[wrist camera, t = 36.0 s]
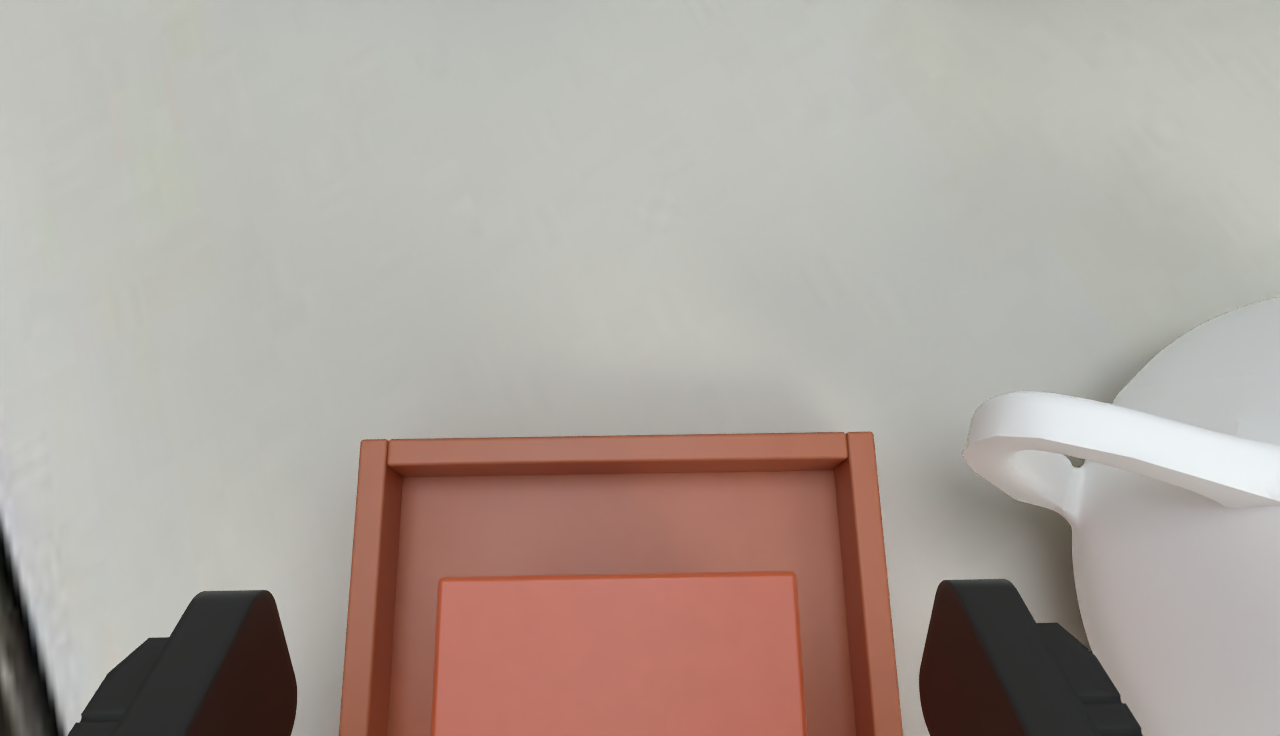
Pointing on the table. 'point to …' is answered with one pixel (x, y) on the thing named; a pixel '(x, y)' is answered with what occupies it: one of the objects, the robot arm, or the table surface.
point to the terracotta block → (619, 655)
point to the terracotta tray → (620, 548)
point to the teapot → (1167, 520)
